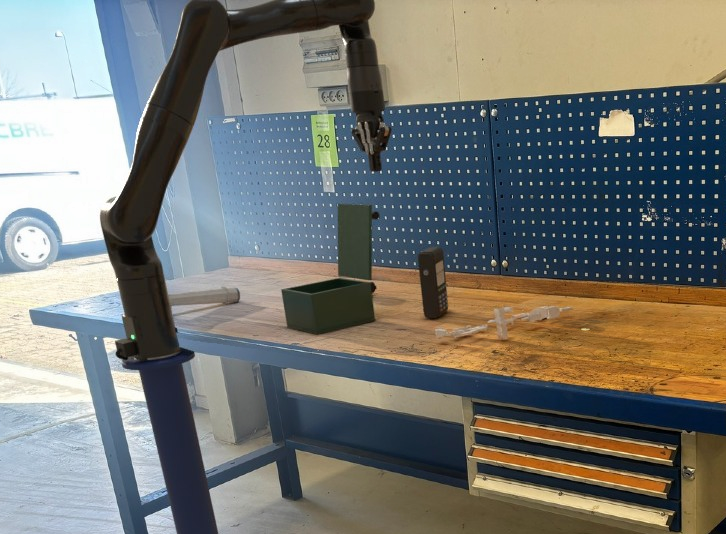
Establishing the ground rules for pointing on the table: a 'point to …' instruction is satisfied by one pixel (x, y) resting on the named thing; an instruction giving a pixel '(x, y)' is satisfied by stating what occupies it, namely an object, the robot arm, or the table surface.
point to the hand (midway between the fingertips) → (376, 171)
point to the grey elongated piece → (505, 321)
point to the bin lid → (355, 240)
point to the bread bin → (328, 305)
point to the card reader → (433, 282)
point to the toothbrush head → (205, 297)
